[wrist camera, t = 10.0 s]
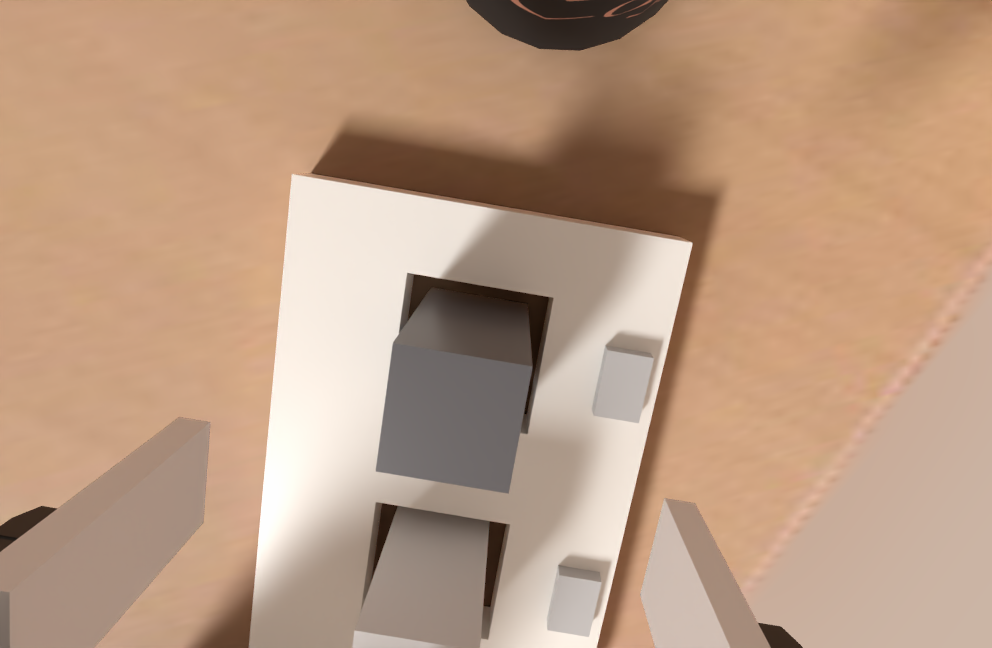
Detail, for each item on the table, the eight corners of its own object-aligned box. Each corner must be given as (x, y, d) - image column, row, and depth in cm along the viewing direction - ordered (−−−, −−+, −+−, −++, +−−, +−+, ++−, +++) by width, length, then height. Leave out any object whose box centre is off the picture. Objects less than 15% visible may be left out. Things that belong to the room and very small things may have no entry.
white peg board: (310, 173, 30) (172, 179, 18) (678, 236, 30) (784, 284, 18) (265, 624, 36) (139, 856, 24) (576, 675, 36) (607, 932, 24)
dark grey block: (431, 287, 31) (392, 342, 22) (527, 303, 31) (532, 366, 22) (417, 379, 32) (375, 471, 23) (511, 394, 32) (508, 493, 23)
